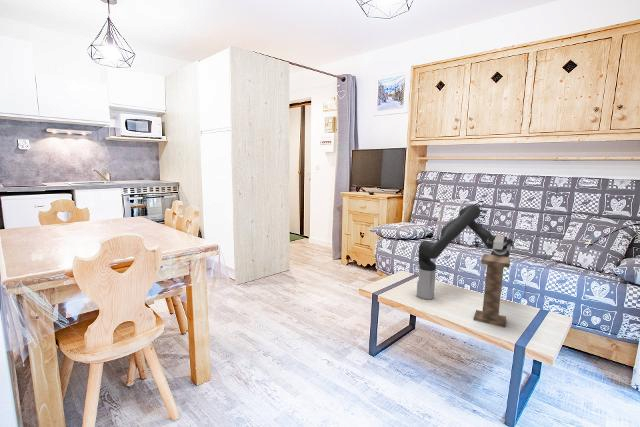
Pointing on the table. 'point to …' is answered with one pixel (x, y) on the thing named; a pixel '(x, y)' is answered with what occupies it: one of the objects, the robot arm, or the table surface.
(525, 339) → the table surface
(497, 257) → the tall stand
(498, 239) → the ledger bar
